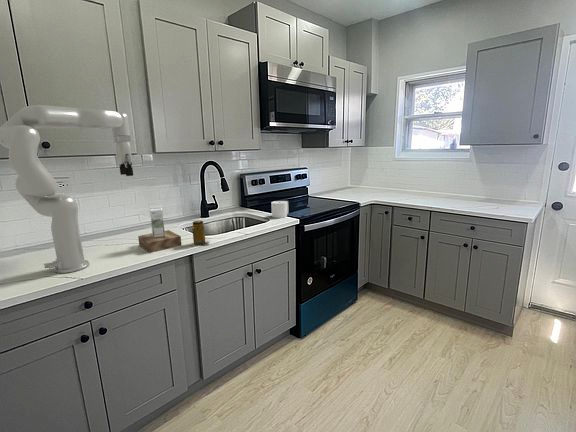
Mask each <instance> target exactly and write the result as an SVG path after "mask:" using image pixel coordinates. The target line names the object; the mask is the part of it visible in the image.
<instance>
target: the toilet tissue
mask: <svg viewBox="0 0 576 432" xmlns="http://www.w3.org/2000/svg"><path fill="white" fill-rule="evenodd" d="M288 214H289V200H276V201H275V200H274V201H271V217H272V218H276V219H281V218H286V217H287V216H288Z"/></svg>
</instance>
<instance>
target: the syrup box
mask: <svg viewBox="0 0 576 432" xmlns="http://www.w3.org/2000/svg"><path fill="white" fill-rule="evenodd" d="M163 211H164V210H163V208H162V207H154V208H149V215H150V222H151V223H150V224H151V233H152V234H153V238H159V237H165V231H166V230H165V222H164V221H165V220H164V214H163V213H164V212H163Z"/></svg>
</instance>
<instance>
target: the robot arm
mask: <svg viewBox="0 0 576 432" xmlns="http://www.w3.org/2000/svg"><path fill="white" fill-rule="evenodd" d="M129 123H130V122H129V116H128V114H127V113H123V112H118V111H115V110H111V109H110V110H109V109H97V108H96V109H95V108H83V107H69V106H60V105H59V106H57V105H45V104H37V105H36V104H35V105H28V106H24V107H21V109H19V110H18V111H17V112H16V113H14V114H13V115H12V116H11V117H10V118H9V119H8V120H7V121H5V123H3V124H2V125H1V126H0V145H1V146H2V147H4V148H6V149H8V161H9V164H10V166H11V167H12V169H13V170H14V172H15V173H16V174H17V175H18V176H17V177H16V180H15V187H16V188H15V189H17V192H18V193H19V194H20V196H21V197H22V198H23V199H24V200H25V201H26V202H27V203H28V205H30V206H31V208H32V209H33V210H34V211H36V213H38V214H39V215H41V216H45V217H51V222H50V230H51V236H52V241H53V245H54V251H55V257H56V258H55V260H52V262H47V263H43V266H44V269H53V270H54V272H56V273H58V274H67V273H73V272H77V271H80V270H83V269H85V268H88V267H89V265H90V261H89V260H87V259H85V256H84V255H85V254H84V250H83V244H82V238H81V233H80V231H81V230H80V226H79V206H78V205H79V204H78V203H77V201H76V200H75V198H73V197H71V196H69V195H66V194H57V192H58V190H59V185H58V183H57V181H56V179H55V178H54V177H53V176H52V174H51V173H50V172H49V171H48V169H47V168H46V167H45V166H44V164H43V163H42V161H40V159H39V157H38V156H39V155H38V149H39V145H40V142H41V136H40V133H39V131H38V130H37V129H65V130H66V129H70V130H77V129H79V130H80V129H81V130H82V129H83V130H84V129H96V128H97V129H103V130H104V129H107V130H108V129H111V132H112V138H113V143H114V144H115V157H116V163H117V164H119V173H120V175H121V176H122V175H123V176H124V175H125V176H126V177H132V176H134V170H133V169H134V168H133V163H132V162H133V158H132V157H133V156H132V150H131V149H132V148H131V144H130V143H132V138H131V131H130V124H129Z"/></svg>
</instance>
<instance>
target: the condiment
mask: <svg viewBox="0 0 576 432" xmlns="http://www.w3.org/2000/svg"><path fill="white" fill-rule="evenodd" d="M191 228H192V240H193V243H192V245H191V246H192V247H197V246H209V245H210V243H211V240H206V231H205V226H204V221H203V220H194V221H192V227H191Z"/></svg>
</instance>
